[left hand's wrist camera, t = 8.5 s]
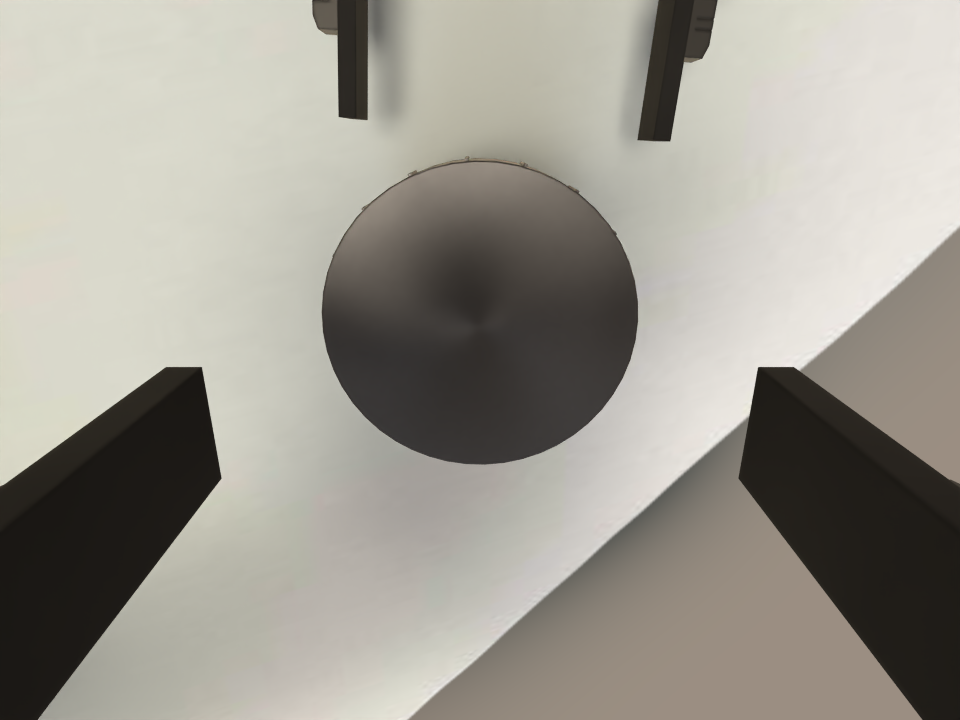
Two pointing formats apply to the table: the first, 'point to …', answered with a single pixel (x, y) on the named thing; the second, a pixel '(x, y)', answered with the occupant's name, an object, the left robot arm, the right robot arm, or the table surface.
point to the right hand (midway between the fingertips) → (504, 130)
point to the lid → (480, 311)
